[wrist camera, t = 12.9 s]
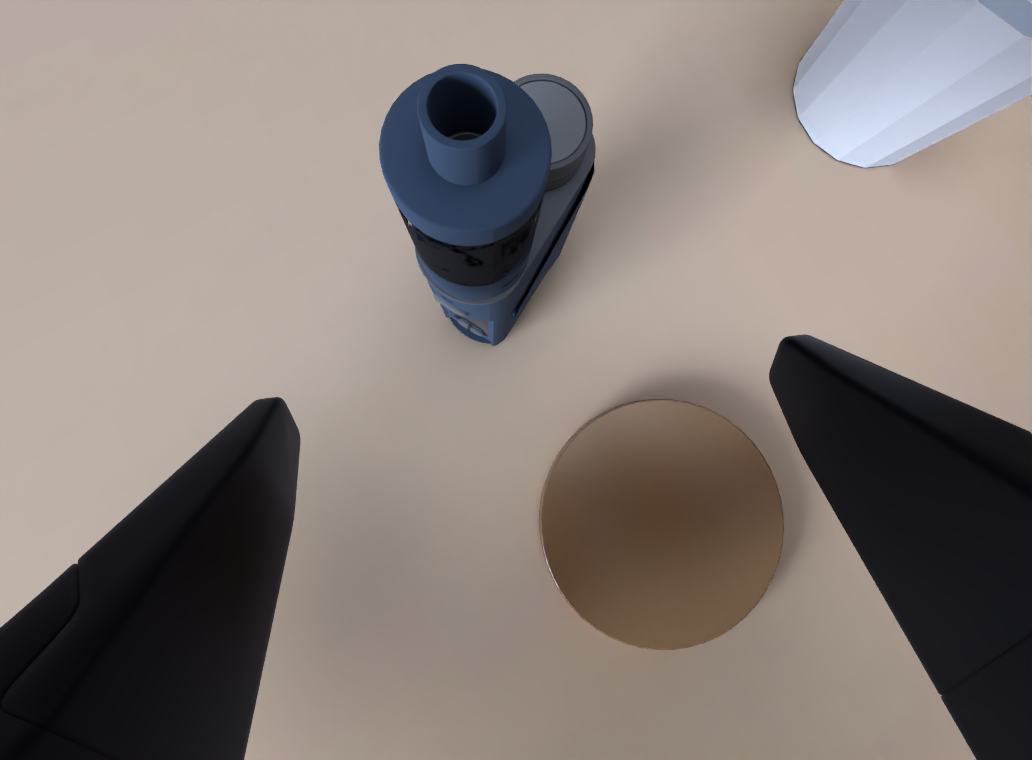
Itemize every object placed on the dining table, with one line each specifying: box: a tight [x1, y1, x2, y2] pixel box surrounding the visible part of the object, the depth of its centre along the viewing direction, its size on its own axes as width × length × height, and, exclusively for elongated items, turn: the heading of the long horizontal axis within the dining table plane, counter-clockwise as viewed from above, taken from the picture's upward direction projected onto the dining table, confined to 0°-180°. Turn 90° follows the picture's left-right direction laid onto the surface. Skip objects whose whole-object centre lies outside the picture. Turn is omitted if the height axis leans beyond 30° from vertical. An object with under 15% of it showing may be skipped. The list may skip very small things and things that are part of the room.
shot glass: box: [793, 0, 1032, 168], centre depth 16 cm, size 7×7×7 cm
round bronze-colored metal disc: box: [540, 399, 784, 650], centre depth 17 cm, size 8×8×1 cm
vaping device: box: [379, 64, 595, 346], centre depth 12 cm, size 3×5×12 cm, turn 148°
